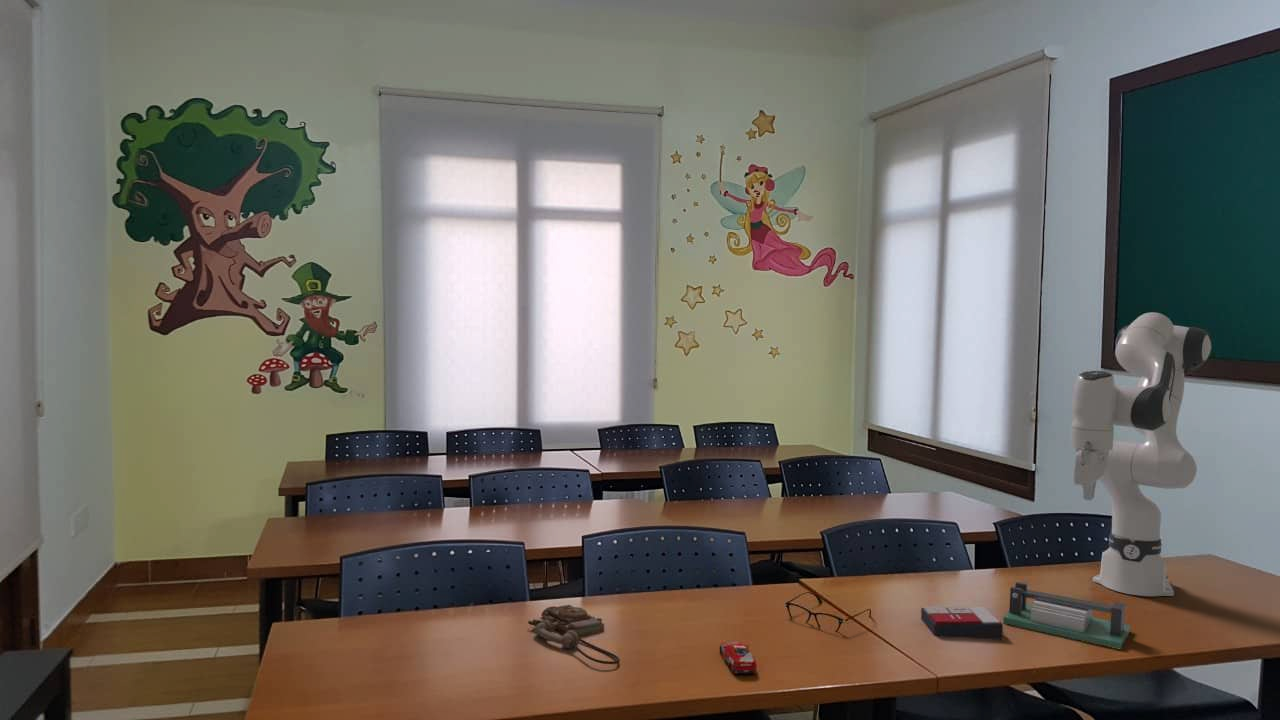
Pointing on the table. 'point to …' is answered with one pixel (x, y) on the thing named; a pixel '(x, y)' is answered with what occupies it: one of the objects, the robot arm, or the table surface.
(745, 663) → the race car
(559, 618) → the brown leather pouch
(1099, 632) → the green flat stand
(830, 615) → the eyeglasses
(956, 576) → the table surface
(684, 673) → the table surface
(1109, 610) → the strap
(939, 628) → the black and red box
